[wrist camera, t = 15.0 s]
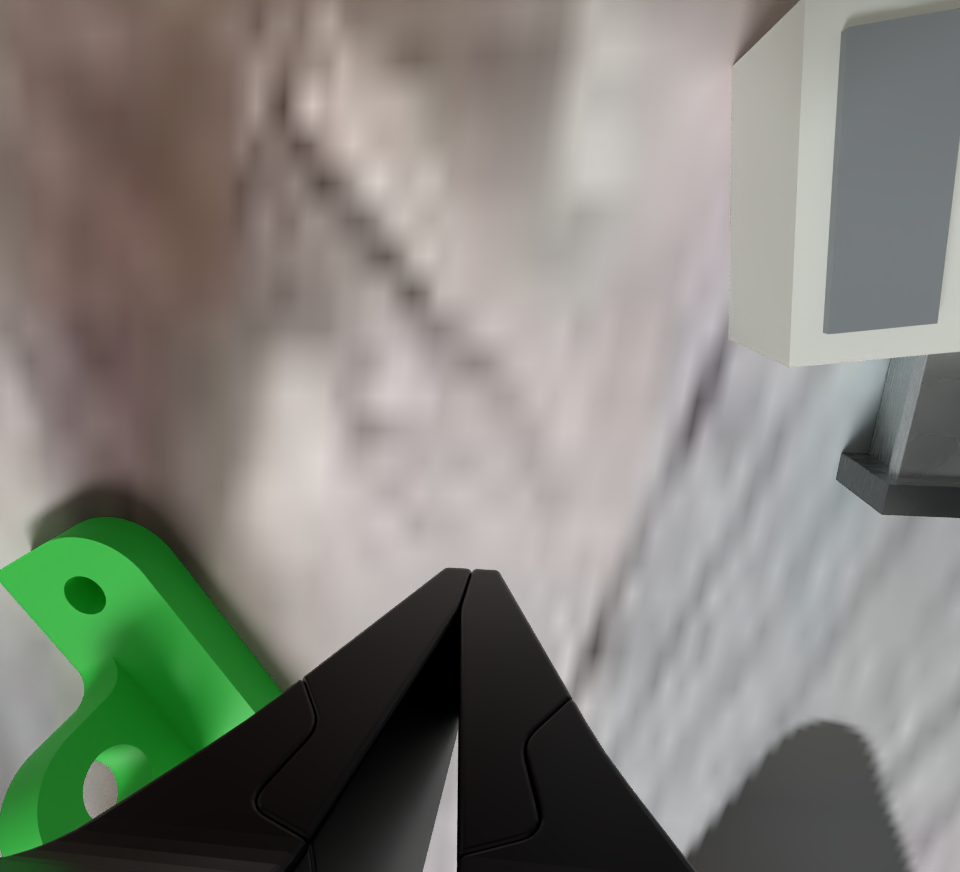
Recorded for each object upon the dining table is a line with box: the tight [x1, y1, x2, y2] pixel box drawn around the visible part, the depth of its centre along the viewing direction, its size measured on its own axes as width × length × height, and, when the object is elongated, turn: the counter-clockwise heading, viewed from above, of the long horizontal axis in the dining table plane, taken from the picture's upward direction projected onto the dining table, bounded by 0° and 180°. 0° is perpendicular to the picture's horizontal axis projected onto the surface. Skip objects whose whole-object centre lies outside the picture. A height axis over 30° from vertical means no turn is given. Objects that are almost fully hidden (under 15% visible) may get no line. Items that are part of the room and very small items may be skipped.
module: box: [729, 0, 960, 368], centre depth 15 cm, size 5×8×5 cm, turn 7°
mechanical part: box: [0, 517, 283, 857], centre depth 22 cm, size 12×6×8 cm, turn 30°
